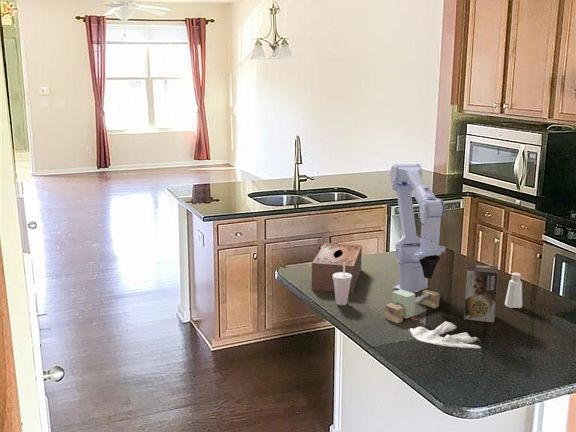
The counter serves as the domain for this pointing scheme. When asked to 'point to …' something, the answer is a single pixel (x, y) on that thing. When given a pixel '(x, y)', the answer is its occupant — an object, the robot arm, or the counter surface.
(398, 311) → the pipe supports
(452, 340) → the cloth
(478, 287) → the printed cardboard box
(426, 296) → the pipe
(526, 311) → the counter surface
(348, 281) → the smoothie
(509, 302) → the pepper shaker
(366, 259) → the counter surface
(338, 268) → the tissue box cover
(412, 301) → the collar
